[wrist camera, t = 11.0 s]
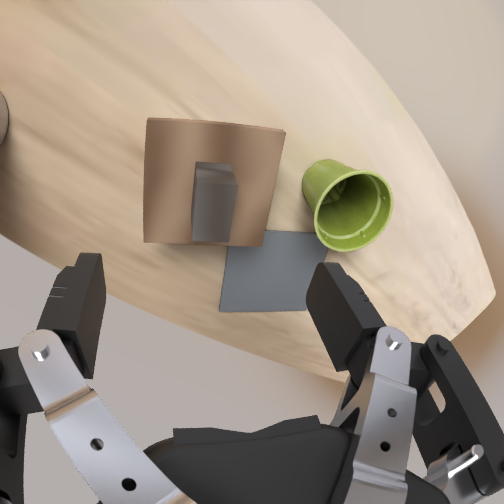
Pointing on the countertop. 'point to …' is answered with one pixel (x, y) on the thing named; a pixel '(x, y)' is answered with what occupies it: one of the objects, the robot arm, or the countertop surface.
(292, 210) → the countertop surface
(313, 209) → the plant pot
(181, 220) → the lid
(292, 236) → the mat
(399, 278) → the countertop surface
